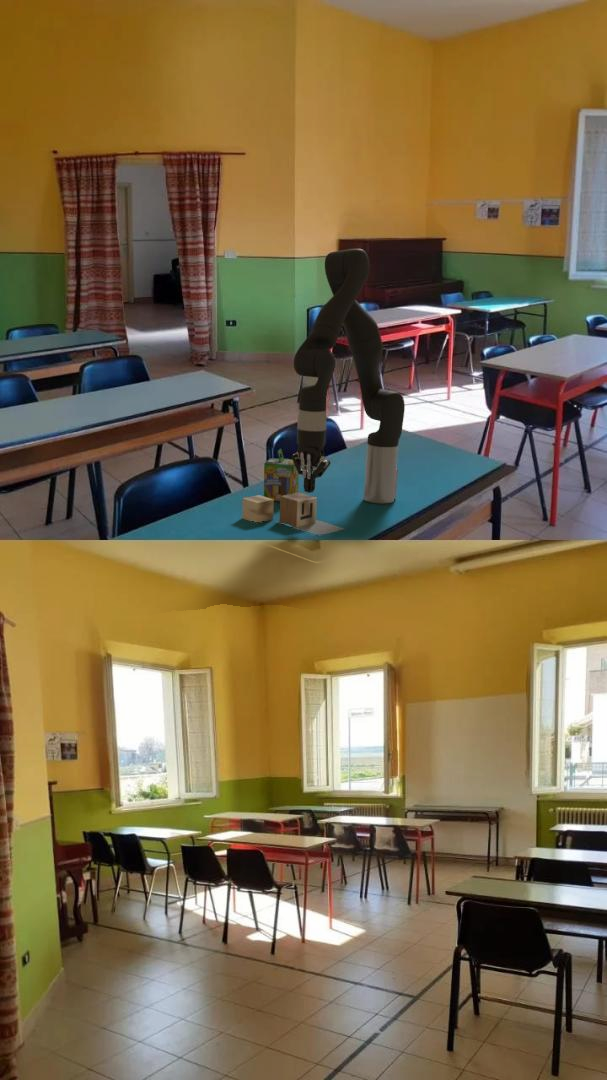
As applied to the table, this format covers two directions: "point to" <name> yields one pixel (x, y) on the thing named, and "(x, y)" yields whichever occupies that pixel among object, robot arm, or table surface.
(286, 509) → the walnut block
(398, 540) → the table surface
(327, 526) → the reading mat
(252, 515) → the beech block
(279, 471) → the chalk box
